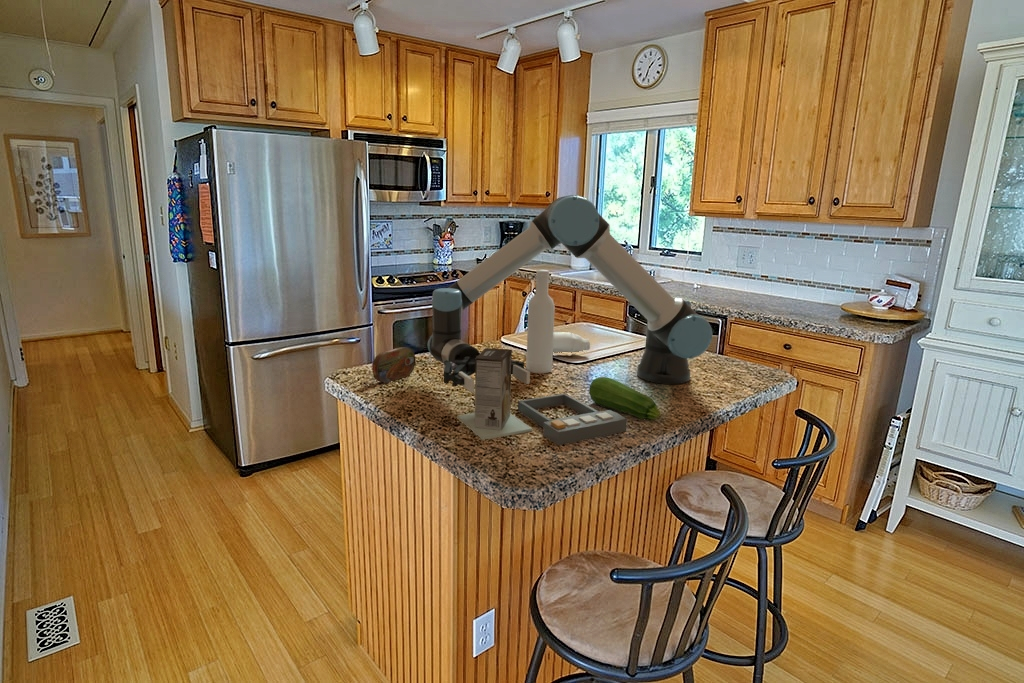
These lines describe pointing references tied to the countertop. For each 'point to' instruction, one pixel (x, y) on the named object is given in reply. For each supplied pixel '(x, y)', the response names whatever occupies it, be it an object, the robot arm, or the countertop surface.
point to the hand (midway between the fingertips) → (501, 382)
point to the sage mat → (509, 428)
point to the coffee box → (492, 388)
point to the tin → (393, 364)
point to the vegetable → (622, 398)
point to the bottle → (540, 327)
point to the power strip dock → (572, 420)
